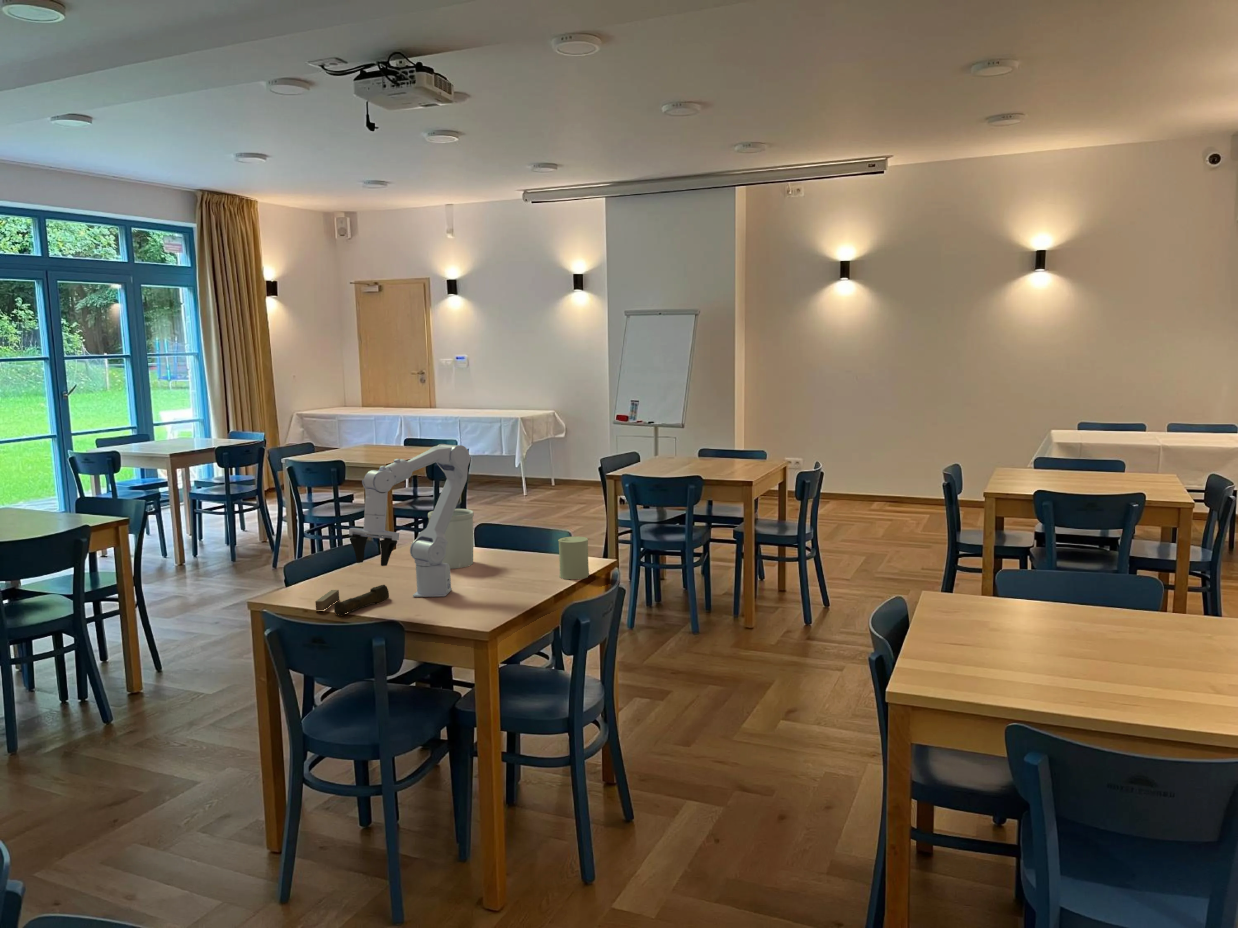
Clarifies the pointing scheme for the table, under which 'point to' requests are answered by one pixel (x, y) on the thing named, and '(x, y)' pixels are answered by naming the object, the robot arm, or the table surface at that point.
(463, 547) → the utensil holder
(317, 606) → the block
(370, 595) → the hand tool
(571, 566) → the can
